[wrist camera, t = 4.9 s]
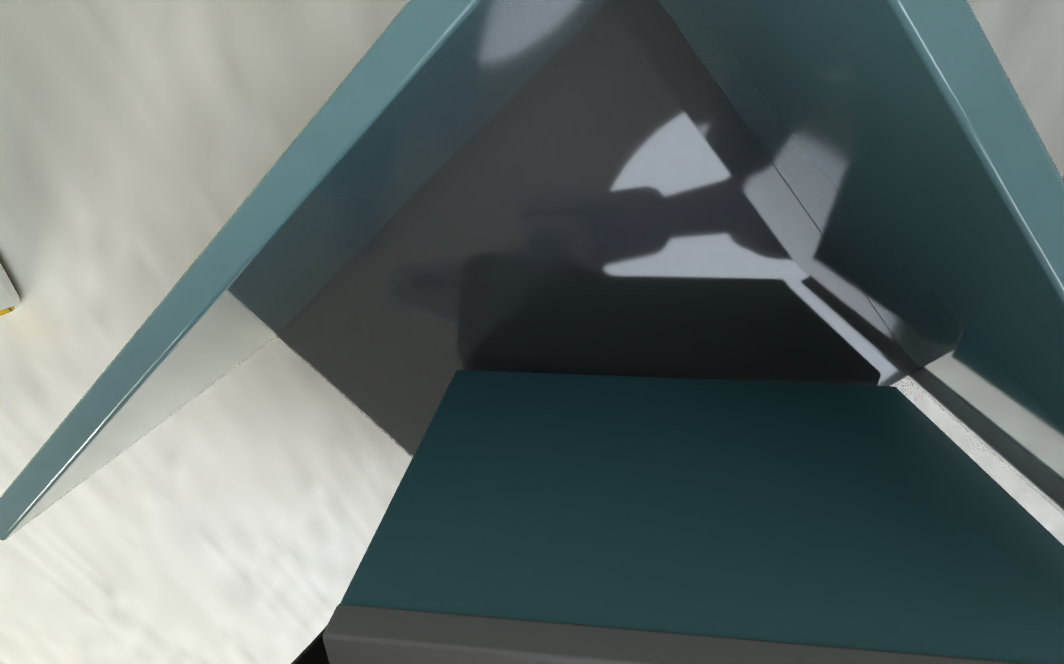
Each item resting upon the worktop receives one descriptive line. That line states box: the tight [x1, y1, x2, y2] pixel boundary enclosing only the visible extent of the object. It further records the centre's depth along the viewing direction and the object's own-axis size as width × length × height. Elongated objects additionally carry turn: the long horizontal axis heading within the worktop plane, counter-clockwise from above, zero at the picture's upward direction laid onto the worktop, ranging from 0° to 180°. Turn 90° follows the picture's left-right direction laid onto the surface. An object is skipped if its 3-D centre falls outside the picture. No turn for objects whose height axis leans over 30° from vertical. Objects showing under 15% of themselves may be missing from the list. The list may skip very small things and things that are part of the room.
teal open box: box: [0, 0, 1064, 540], centre depth 10 cm, size 12×12×8 cm
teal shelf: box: [323, 370, 1064, 664], centre depth 10 cm, size 5×10×7 cm, turn 91°
